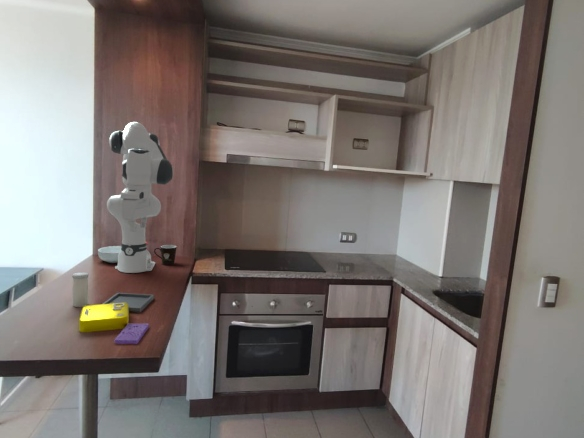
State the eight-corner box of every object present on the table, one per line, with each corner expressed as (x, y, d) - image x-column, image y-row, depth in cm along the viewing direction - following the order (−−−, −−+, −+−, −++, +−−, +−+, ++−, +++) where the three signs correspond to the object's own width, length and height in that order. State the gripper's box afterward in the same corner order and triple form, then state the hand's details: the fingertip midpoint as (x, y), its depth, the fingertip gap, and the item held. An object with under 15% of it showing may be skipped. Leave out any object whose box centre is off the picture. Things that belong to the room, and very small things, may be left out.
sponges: (149, 328, 128) (149, 323, 128) (137, 345, 116) (137, 339, 116) (128, 328, 128) (128, 322, 128) (114, 345, 115) (114, 339, 115)
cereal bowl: (97, 258, 211) (98, 246, 210) (129, 257, 219) (129, 245, 218) (97, 266, 196) (97, 253, 195) (131, 264, 204) (132, 251, 203)
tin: (77, 301, 146) (77, 272, 145) (91, 302, 146) (91, 272, 145) (69, 306, 141) (69, 276, 139) (83, 307, 141) (83, 276, 140)
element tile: (82, 316, 134) (82, 304, 133) (128, 312, 140) (128, 300, 140) (78, 334, 120) (78, 320, 120) (128, 329, 127) (128, 315, 126)
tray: (117, 296, 154) (117, 292, 154) (153, 298, 155) (153, 294, 155) (99, 310, 140) (99, 305, 139) (139, 312, 140) (140, 308, 140)
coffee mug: (179, 263, 212) (179, 246, 211) (168, 266, 204) (169, 249, 203) (163, 260, 217) (164, 243, 215) (152, 263, 209) (153, 245, 208)
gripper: (140, 190, 148) (140, 224, 150) (118, 193, 128) (117, 233, 129) (156, 191, 148) (156, 225, 150) (136, 195, 128) (136, 234, 130)
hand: (138, 229), depth 139 cm, fingers open, 8 cm apart
